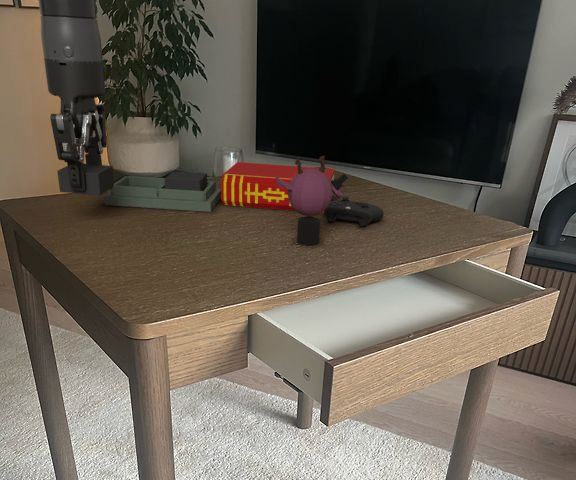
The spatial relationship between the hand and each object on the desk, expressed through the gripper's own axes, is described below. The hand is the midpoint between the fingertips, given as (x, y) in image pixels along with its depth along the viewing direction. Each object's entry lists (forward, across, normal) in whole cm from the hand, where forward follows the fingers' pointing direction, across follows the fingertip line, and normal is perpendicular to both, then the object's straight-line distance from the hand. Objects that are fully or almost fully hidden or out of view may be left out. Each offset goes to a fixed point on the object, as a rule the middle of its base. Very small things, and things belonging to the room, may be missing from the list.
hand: (87, 184), depth 89 cm
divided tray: (+5, -15, +7) cm, 18 cm away
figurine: (+5, +3, +34) cm, 34 cm away
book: (+5, -20, +27) cm, 34 cm away
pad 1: (+1, 0, 0) cm, 1 cm away
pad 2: (+4, -15, +11) cm, 19 cm away
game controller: (+5, -10, +40) cm, 41 cm away
